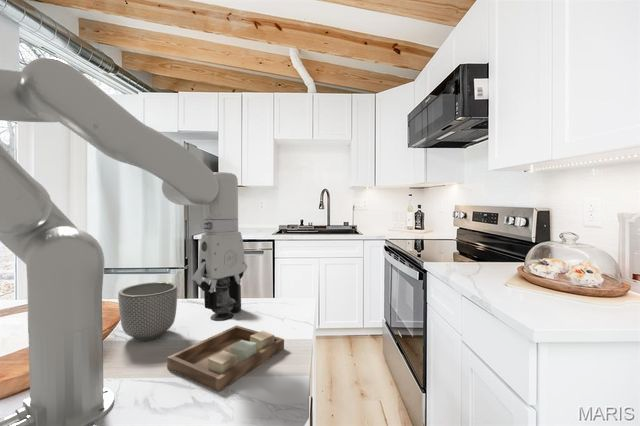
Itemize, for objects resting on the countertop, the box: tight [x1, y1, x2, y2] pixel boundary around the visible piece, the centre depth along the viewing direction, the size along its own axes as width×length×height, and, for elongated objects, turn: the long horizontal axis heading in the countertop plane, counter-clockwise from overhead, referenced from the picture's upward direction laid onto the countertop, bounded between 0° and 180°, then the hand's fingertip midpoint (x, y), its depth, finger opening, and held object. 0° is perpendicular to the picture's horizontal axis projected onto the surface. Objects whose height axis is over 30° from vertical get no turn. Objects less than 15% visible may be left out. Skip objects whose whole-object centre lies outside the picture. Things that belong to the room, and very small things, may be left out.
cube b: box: [231, 340, 257, 364], centre depth 68 cm, size 4×4×4 cm
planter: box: [117, 281, 179, 343], centre depth 83 cm, size 14×14×13 cm
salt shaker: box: [210, 277, 235, 322], centre depth 72 cm, size 6×6×12 cm
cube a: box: [208, 351, 237, 375], centre depth 63 cm, size 4×4×4 cm
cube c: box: [250, 330, 275, 352], centre depth 74 cm, size 4×4×4 cm
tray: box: [166, 324, 285, 393], centre depth 71 cm, size 20×16×3 cm
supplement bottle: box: [228, 280, 242, 315], centre depth 103 cm, size 7×7×12 cm
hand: (222, 303), depth 72 cm, fingers closed on salt shaker, 5 cm apart
